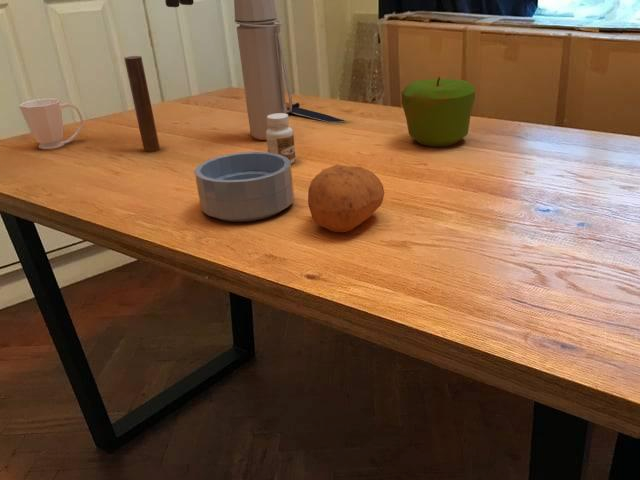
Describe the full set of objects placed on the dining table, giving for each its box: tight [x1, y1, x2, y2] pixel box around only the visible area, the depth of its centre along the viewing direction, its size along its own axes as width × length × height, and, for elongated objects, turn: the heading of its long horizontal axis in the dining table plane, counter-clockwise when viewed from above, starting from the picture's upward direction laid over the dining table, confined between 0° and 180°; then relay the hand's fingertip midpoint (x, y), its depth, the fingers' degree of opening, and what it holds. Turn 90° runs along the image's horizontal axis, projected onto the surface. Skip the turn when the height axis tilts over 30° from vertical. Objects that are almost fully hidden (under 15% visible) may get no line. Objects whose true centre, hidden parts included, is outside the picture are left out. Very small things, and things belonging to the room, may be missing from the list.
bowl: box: [193, 151, 295, 223], centre depth 91 cm, size 13×13×6 cm
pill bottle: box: [266, 113, 297, 165], centre depth 108 cm, size 4×4×8 cm
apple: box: [400, 76, 476, 148], centre depth 115 cm, size 12×12×11 cm
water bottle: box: [233, 0, 293, 141], centre depth 118 cm, size 9×8×25 cm
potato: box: [307, 164, 385, 233], centre depth 85 cm, size 9×11×8 cm
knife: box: [286, 102, 346, 123], centre depth 138 cm, size 26×3×5 cm
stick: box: [123, 55, 161, 153], centre depth 115 cm, size 3×3×16 cm
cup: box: [18, 97, 84, 150], centre depth 123 cm, size 7×10×8 cm
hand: (179, 5), depth 111 cm, fingers open, 8 cm apart
